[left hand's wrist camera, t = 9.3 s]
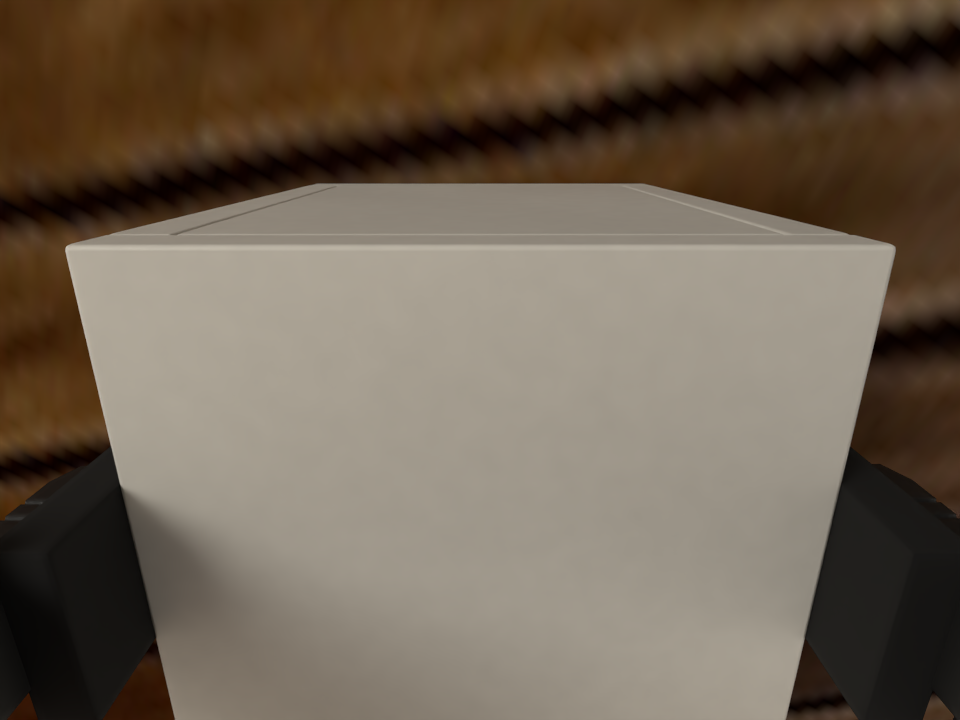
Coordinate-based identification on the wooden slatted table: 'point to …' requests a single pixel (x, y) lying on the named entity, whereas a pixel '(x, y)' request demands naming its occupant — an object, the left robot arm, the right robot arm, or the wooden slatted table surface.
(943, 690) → the left robot arm
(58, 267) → the wooden slatted table surface
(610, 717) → the cabinet
